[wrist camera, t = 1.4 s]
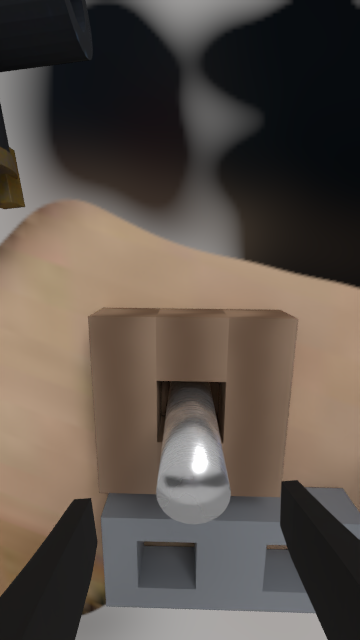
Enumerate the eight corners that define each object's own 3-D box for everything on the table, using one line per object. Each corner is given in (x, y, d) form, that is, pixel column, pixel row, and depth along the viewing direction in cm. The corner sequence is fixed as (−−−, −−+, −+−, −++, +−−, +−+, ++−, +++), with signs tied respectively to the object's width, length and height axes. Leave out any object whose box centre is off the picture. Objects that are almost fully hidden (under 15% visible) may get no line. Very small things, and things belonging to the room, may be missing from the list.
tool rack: (342, 488, 21) (367, 524, 18) (330, 569, 23) (351, 614, 20) (112, 482, 22) (100, 517, 19) (116, 562, 23) (106, 606, 20)
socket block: (280, 309, 18) (298, 319, 15) (266, 464, 21) (280, 497, 18) (103, 307, 19) (88, 316, 16) (111, 460, 21) (99, 492, 18)
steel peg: (211, 371, 19) (232, 462, 11) (210, 409, 20) (228, 525, 11) (169, 370, 20) (155, 460, 11) (169, 408, 20) (156, 523, 11)
